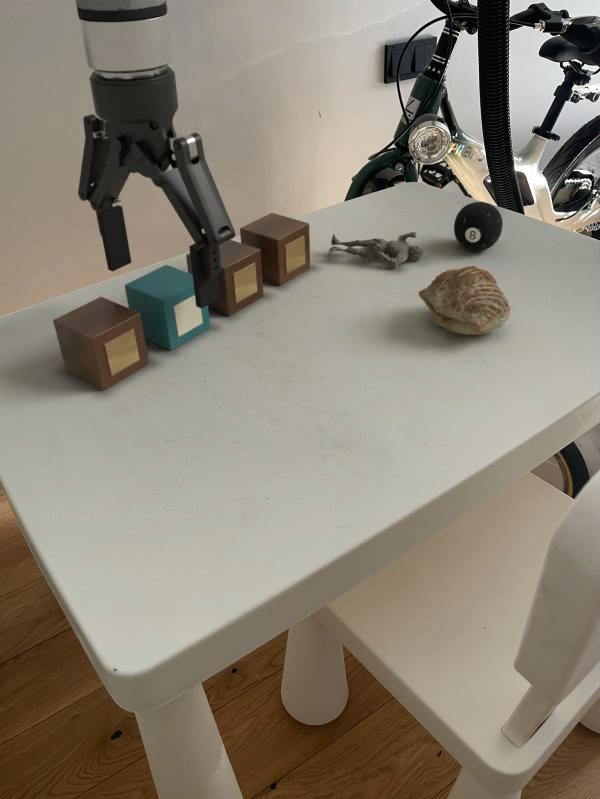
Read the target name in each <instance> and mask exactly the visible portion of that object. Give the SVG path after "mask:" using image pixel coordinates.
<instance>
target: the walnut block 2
mask: <svg viewBox="0 0 600 799" xmlns="http://www.w3.org/2000/svg"><path fill="white" fill-rule="evenodd" d="M219 250H220V262H221V263H220V264H221V271H220V273H219V274H218V279H219V290H220V299H218V300H216V301H214V302H212V303H211V304H209V305H208V310H212V311H215V312H217V313H219V314H222V315H224V316H227V317H230V316H232V315H234V314H236V313H237V312H239V311H241V310H243V309H244V308H246V307H247V306H249V305H251V304H253V303H254V302H256V301H258V300H259V299H261V298H262V297H264V284H263V280H262V267H261V252H260V249H258V248H255V247H252V246H249V245H246V244H242V243H241V242H239V241H236V240H233V239H230V240H228V241H226V242H224V243H222V244H220V245H219ZM185 259H186V266H187V267H186V268H187V272H188V273H190V274H192V266H191V257H190V252H189V253H187V254H185Z"/></svg>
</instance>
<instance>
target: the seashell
mask: <svg viewBox="0 0 600 799" xmlns="http://www.w3.org/2000/svg"><path fill="white" fill-rule="evenodd" d="M418 296H419V298H420V299H421V300H422V301H423V302H424V304H425V306H426V307H427V308H428V309H429V311H430V313H431V316H432V320H433V321H434V323H435V324H436V325H437V326H439V327H443V328H444V329H446V330H448V331H449V332H452V333H455V334H460V335H467V336H472V335H477V336H478V335H479V336H480V335H486V334H490V333H491V332H494V331H496V330H498V329H499V328H501V327H503V326H504V324H505V323H506V322H507V321H508V320H509V319H510V316H511V307H510V303H509V300H508V299H507V297H506V296H505V293H504V292H503V291H502V290H501V289H500V287H499V286H498V284H497V280H496V279H495V277H494V276H493V274H491V273H490V272H489V271H488V270H485V269H483V268H479V267H477V266H476V265H471V266H465V267H461V268H459V269H458V268H454V269H452V268H451V269H447V270H445V271H442V272H440V273H439V274H438V275H437V276H436V277H435V278H434V279H433V280H432V281H431V283H430V284H429V285H428V286H427V287H426V288H424V289H421V290H419V291H418Z"/></svg>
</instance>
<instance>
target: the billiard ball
mask: <svg viewBox="0 0 600 799" xmlns="http://www.w3.org/2000/svg"><path fill="white" fill-rule="evenodd" d="M503 223H504V222H503V217H502V214H501V213H500V211H499V209H498V208H497V207H495V205H493V204H491V203H488V202H485V201H473V202H470V203H467V204H466V205H464V206H463V207H462V208H461V209H460V210H459V212H458V213H457V215H456V217H455V219H454V224H453V232H454V237H455V239H456V241H457V242H458V244H459V245H461V247H463V248H465V249H467V250H470V251H475V252H477V251H479V252H480V251H485V250H488V249H490V248H491V247H493V246H494V245H495V244H496V243H497V242H498V241H499V239H500V237H501V234H502V232H503Z"/></svg>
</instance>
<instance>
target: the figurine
mask: <svg viewBox="0 0 600 799" xmlns="http://www.w3.org/2000/svg"><path fill="white" fill-rule="evenodd" d="M417 234H418V233H417V232H416V231H410V232H409V233H407V232H406V233H405V234H404V233H403V234H400V235H399V236H398V238H397V240H389V241H387V240H385V239H383V238H376V237H375V238H371V239H362V240H359V239H356V240H351V241H340V240H339V239H338V238H337V237H336V235H335V233H333V234H332V237H331V241H330V248H329V249H328V254H327V255H328V259H331V257H332V253H333V252H343V253H345V254H348V255H352V256H358V257H359V258H360V259H361V260H364V261H365V260H367V261H383V262H384V263H385V264H387V265H388V266H390V267H391V268H393V269H397V267H398V266H400V264H402V263H404V262H405V261H406V260H407V259H408V258H409V259H410V260H411V261H419V260H421V259H422V258H423V256H424V254H425V251H424V247H421V246H418V245H410V243H408V241H407V239H408V238H413V239H415V238H416V237H417ZM339 246H345V247H347V248H345V249H343V248H342V247H339ZM355 247H359V248H355Z"/></svg>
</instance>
